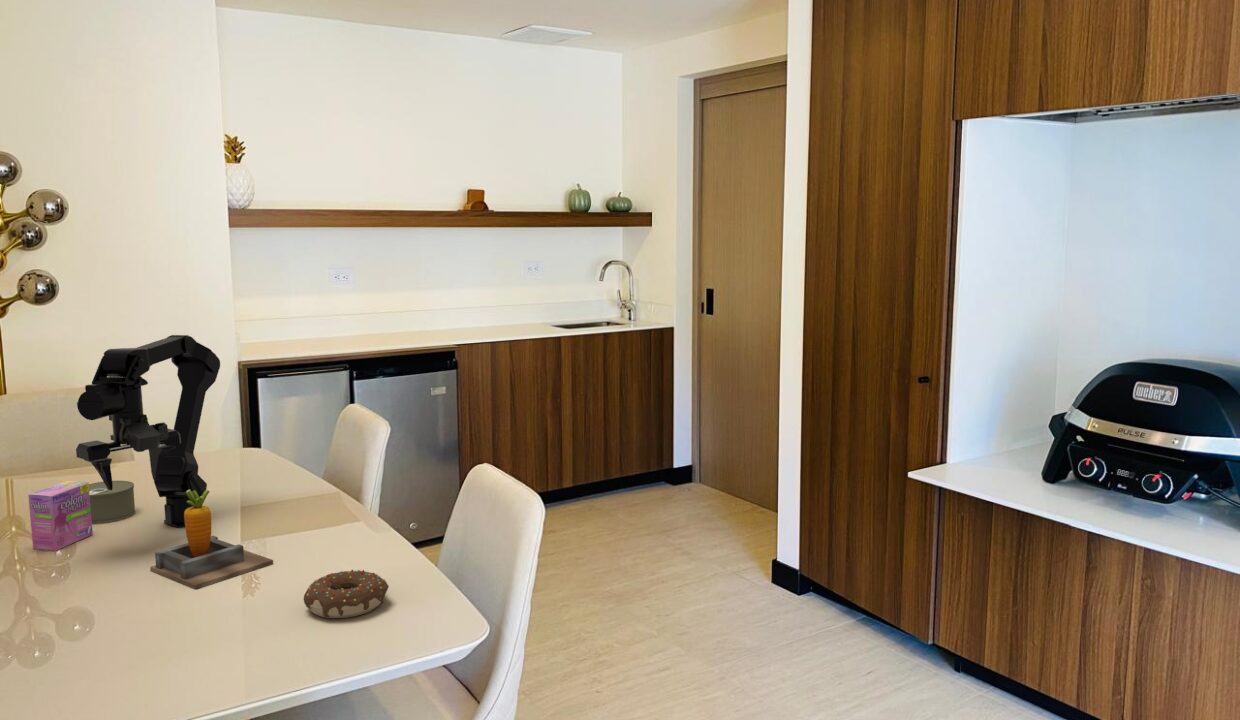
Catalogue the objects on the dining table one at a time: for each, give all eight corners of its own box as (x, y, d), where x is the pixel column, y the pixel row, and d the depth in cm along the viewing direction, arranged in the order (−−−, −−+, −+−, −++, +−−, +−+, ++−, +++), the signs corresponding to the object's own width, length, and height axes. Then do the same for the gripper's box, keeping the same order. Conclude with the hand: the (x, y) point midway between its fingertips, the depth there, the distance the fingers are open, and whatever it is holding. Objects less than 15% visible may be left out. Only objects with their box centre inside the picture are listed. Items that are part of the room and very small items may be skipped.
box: (56, 551, 191) (51, 495, 190) (32, 549, 192) (26, 493, 191) (94, 535, 201) (89, 481, 200) (71, 533, 202) (66, 480, 201)
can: (147, 509, 220) (145, 481, 219) (115, 525, 208) (112, 495, 207) (99, 508, 221) (96, 479, 220) (64, 524, 209) (61, 494, 208)
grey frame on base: (227, 547, 193) (226, 529, 192) (273, 563, 184) (272, 545, 183) (150, 570, 180) (148, 551, 180) (195, 589, 171) (194, 569, 170)
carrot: (217, 559, 184) (213, 484, 182) (209, 568, 179) (205, 491, 177) (191, 560, 183) (187, 485, 181) (182, 569, 179) (177, 492, 177)
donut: (344, 630, 154) (342, 601, 153) (288, 612, 161) (287, 584, 160) (406, 600, 166) (405, 573, 165) (352, 585, 173) (351, 559, 172)
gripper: (98, 422, 178) (105, 502, 180) (192, 407, 193) (197, 480, 195) (71, 416, 185) (78, 492, 187) (164, 401, 200) (169, 472, 202)
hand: (133, 484), depth 193 cm, fingers open, 9 cm apart
